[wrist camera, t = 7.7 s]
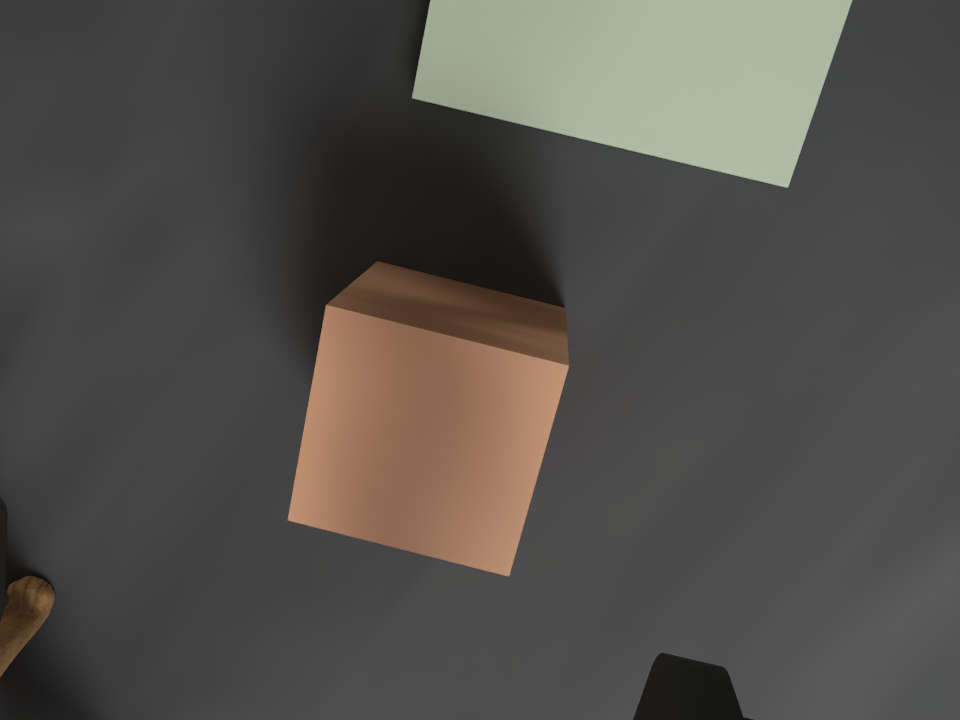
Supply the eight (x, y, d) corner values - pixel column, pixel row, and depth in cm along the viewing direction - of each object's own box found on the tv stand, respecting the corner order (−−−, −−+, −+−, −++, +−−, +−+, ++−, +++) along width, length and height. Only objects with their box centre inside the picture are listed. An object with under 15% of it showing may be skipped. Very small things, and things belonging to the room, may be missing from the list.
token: (565, 307, 18) (568, 366, 14) (518, 476, 20) (508, 576, 16) (378, 260, 19) (325, 304, 14) (344, 432, 20) (287, 520, 16)
